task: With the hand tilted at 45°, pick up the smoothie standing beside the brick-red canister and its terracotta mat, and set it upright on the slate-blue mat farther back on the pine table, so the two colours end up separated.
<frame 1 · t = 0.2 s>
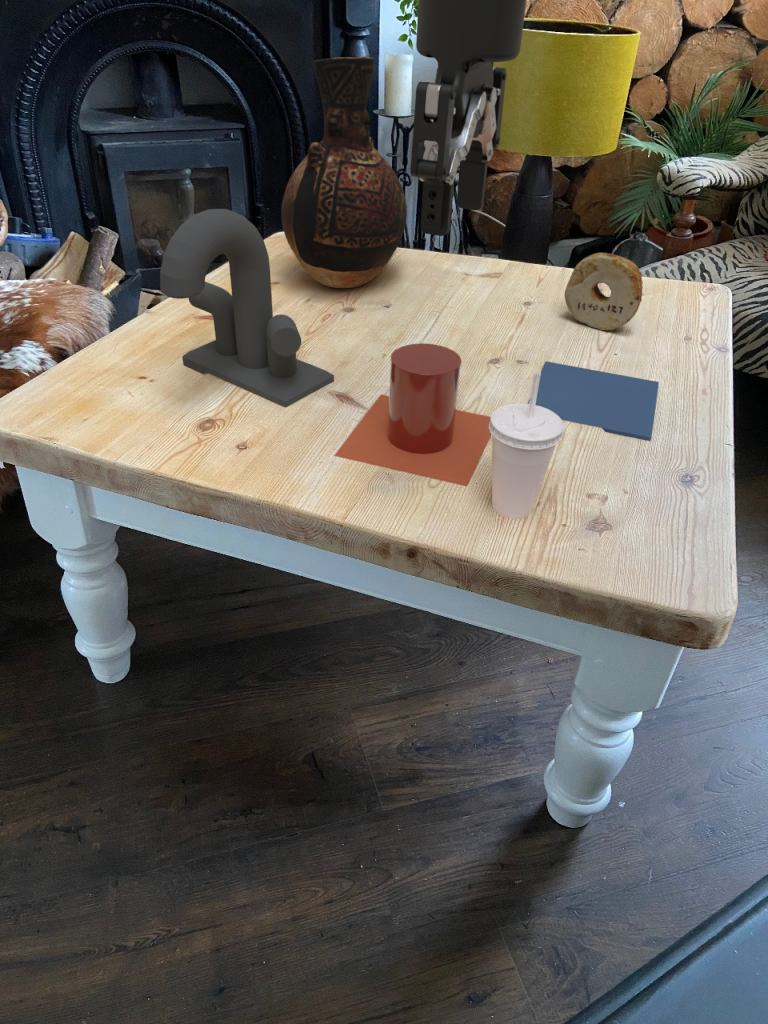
hand: (453, 220, 61), 24 cm above the table, tool pointing down, fingers open, 8 cm apart
blue mat: (593, 399, 88), on the table
smoothie: (511, 511, 70), on the table
stone disc: (596, 326, 105), on the table
canister: (420, 436, 79), resting on terracotta mat
terracotta mat: (420, 439, 79), on the table
ceramic vessel: (344, 280, 116), on the table
faucet: (234, 386, 88), on the table
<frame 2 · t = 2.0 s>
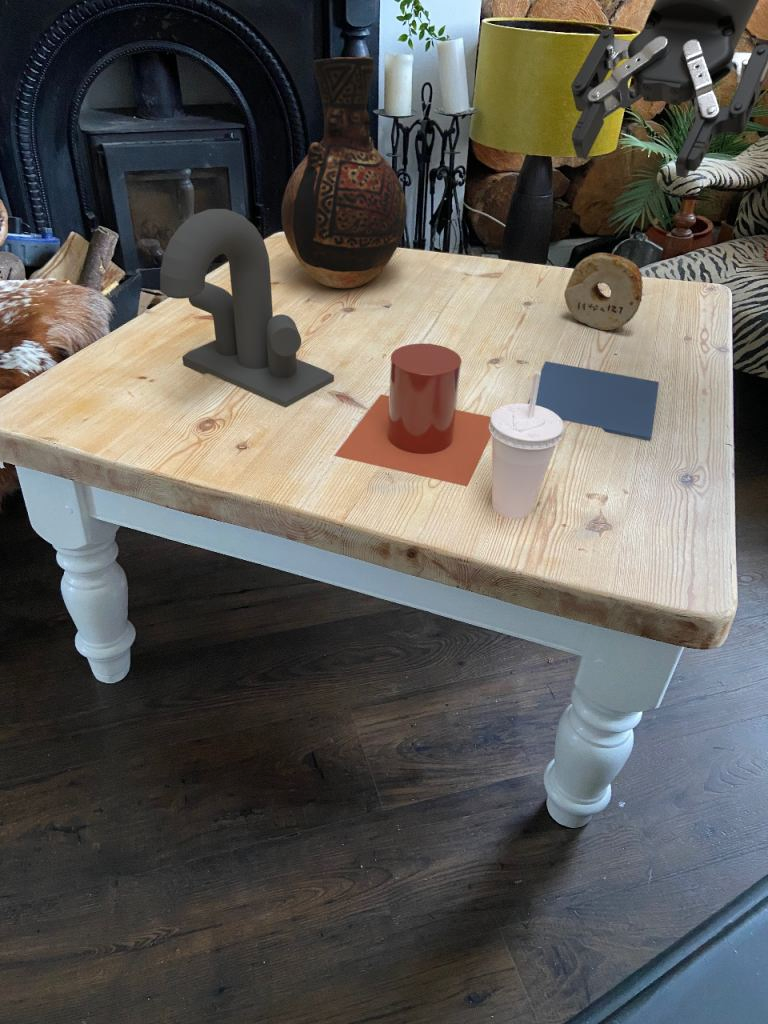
hand: (628, 161, 60), 29 cm above the table, tool tilted 45°, fingers open, 8 cm apart
nothing on the table moved.
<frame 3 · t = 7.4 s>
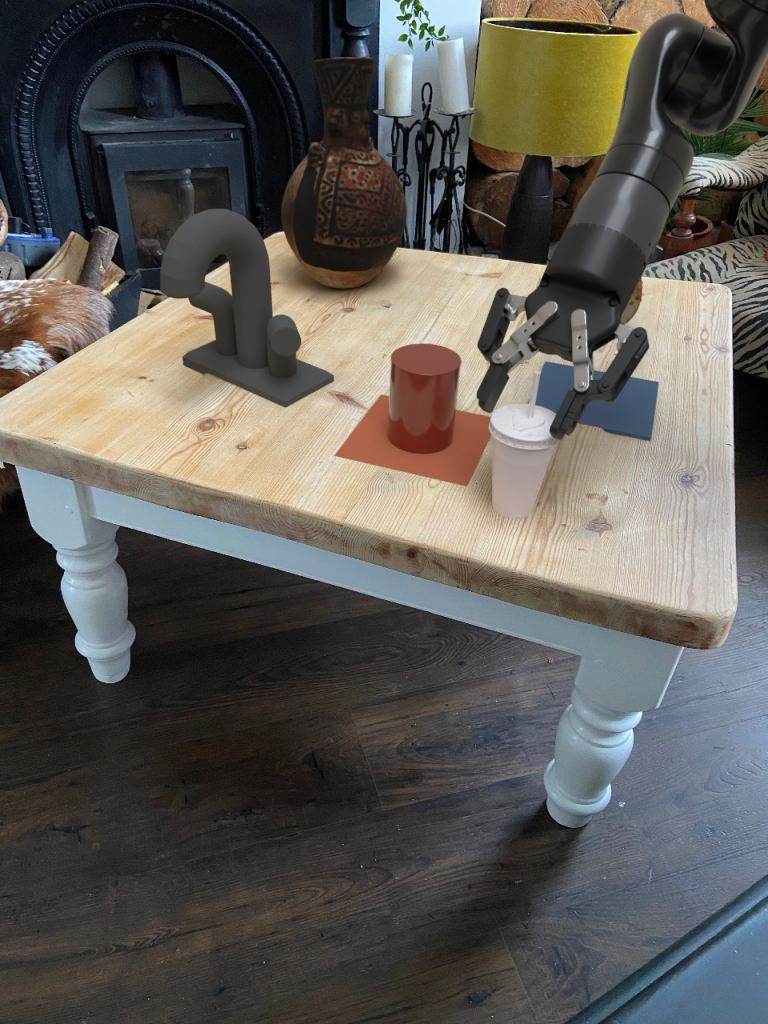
hand: (519, 421, 63), 10 cm above the table, tool tilted 45°, fingers closed on smoothie, 6 cm apart
smoothie: (511, 511, 70), on the table, touching gripper
everything else where it was.
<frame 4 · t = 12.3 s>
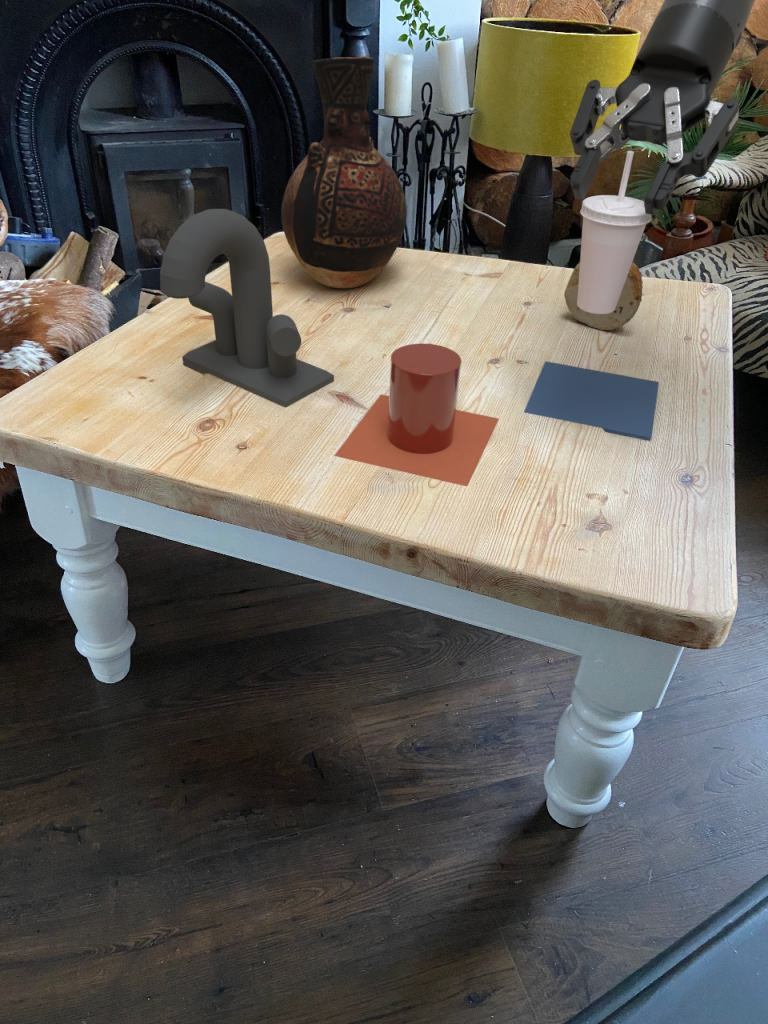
hand: (612, 201, 66), 24 cm above the table, tool tilted 45°, fingers closed on smoothie, 6 cm apart
smoothie: (595, 308, 74), point 14 cm above the table, touching gripper
everything else where it was.
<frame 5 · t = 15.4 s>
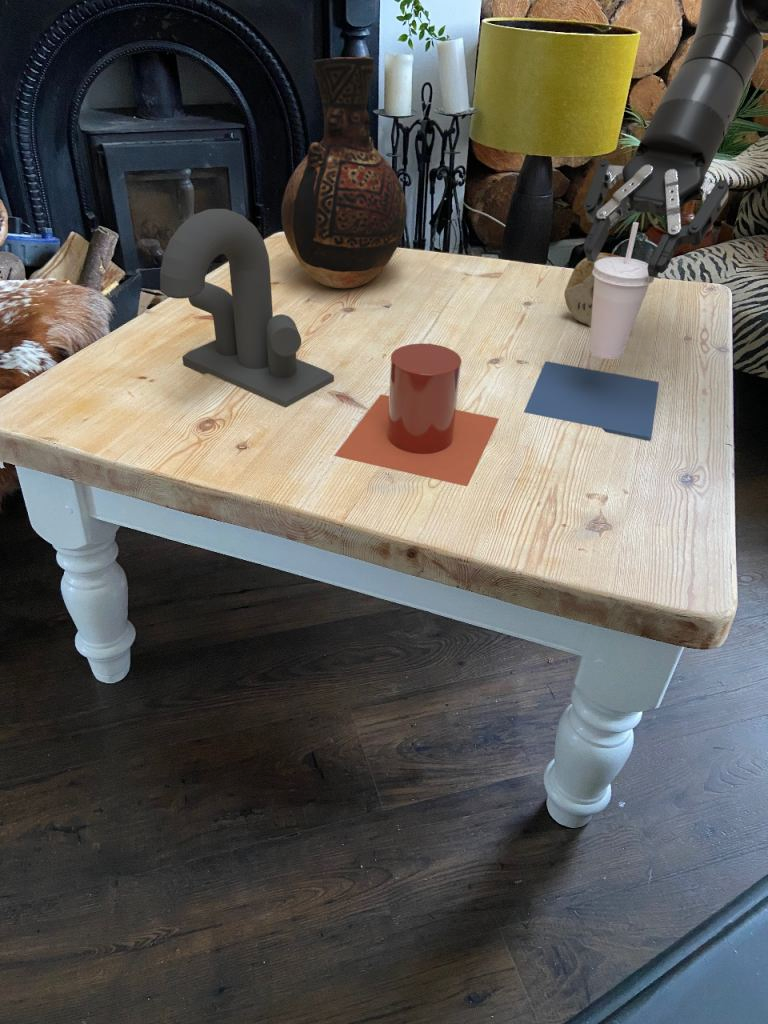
hand: (620, 264, 77), 16 cm above the table, tool tilted 45°, fingers closed on smoothie, 6 cm apart
smoothie: (605, 353, 84), point 6 cm above the table, touching gripper
everything else where it was.
when the fingers open (11 cm above the table, at t = 17.6 s): smoothie stays where it is, resting on blue mat.
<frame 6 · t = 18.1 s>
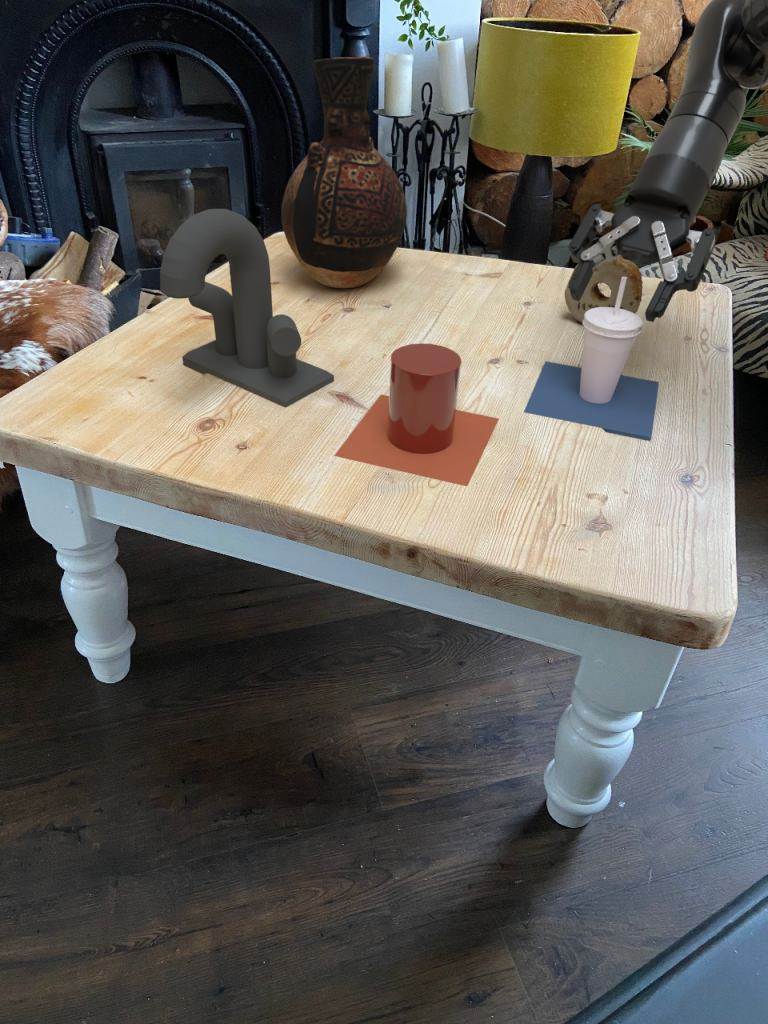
hand: (610, 307, 80), 12 cm above the table, tool tilted 45°, fingers open, 8 cm apart
smoothie: (594, 397, 88), resting on blue mat
everything else where it was.
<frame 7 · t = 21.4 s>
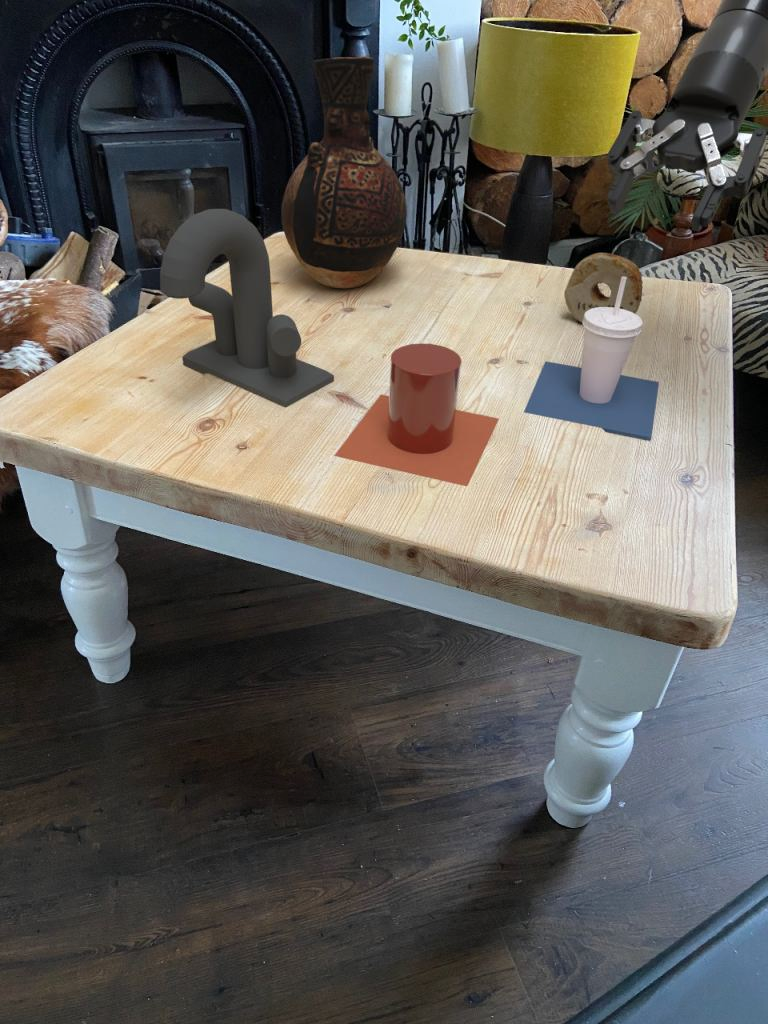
hand: (653, 217, 75), 21 cm above the table, tool tilted 45°, fingers open, 8 cm apart
nothing on the table moved.
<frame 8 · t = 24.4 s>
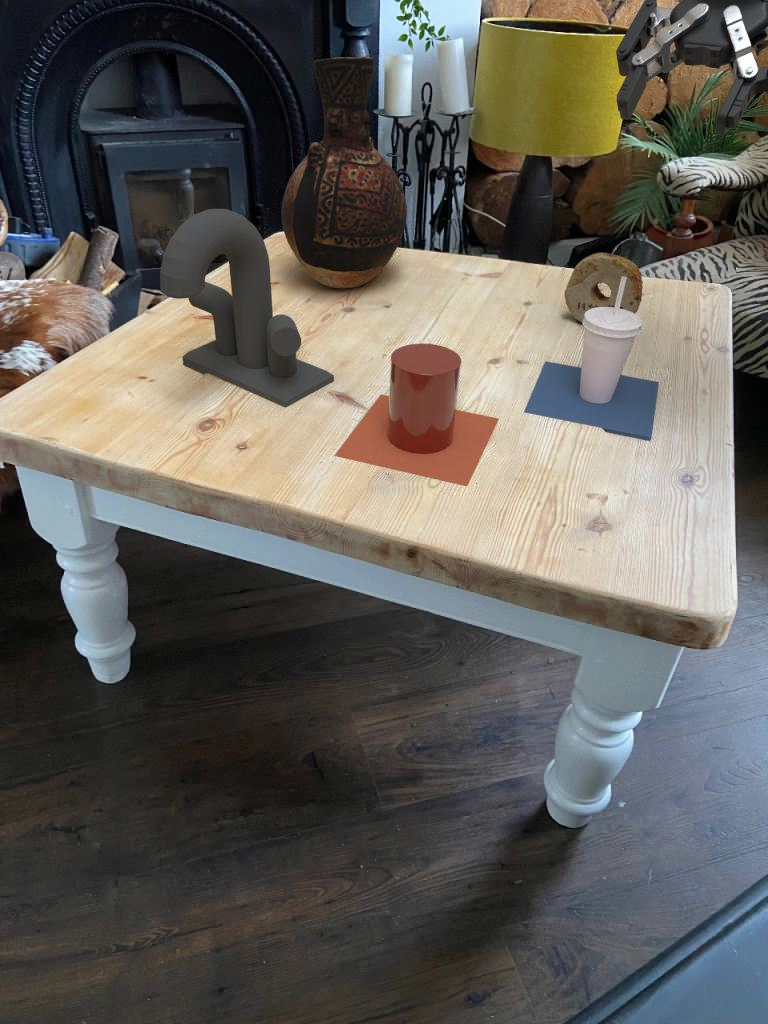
hand: (670, 120, 64), 31 cm above the table, tool tilted 45°, fingers open, 8 cm apart
nothing on the table moved.
at the end: smoothie inside the target area on the blue mat (0.2 cm from its centre), point 0.2 cm above the blue mat's base; smoothie tilted 0°; canister moved 0.0 cm from its start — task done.
